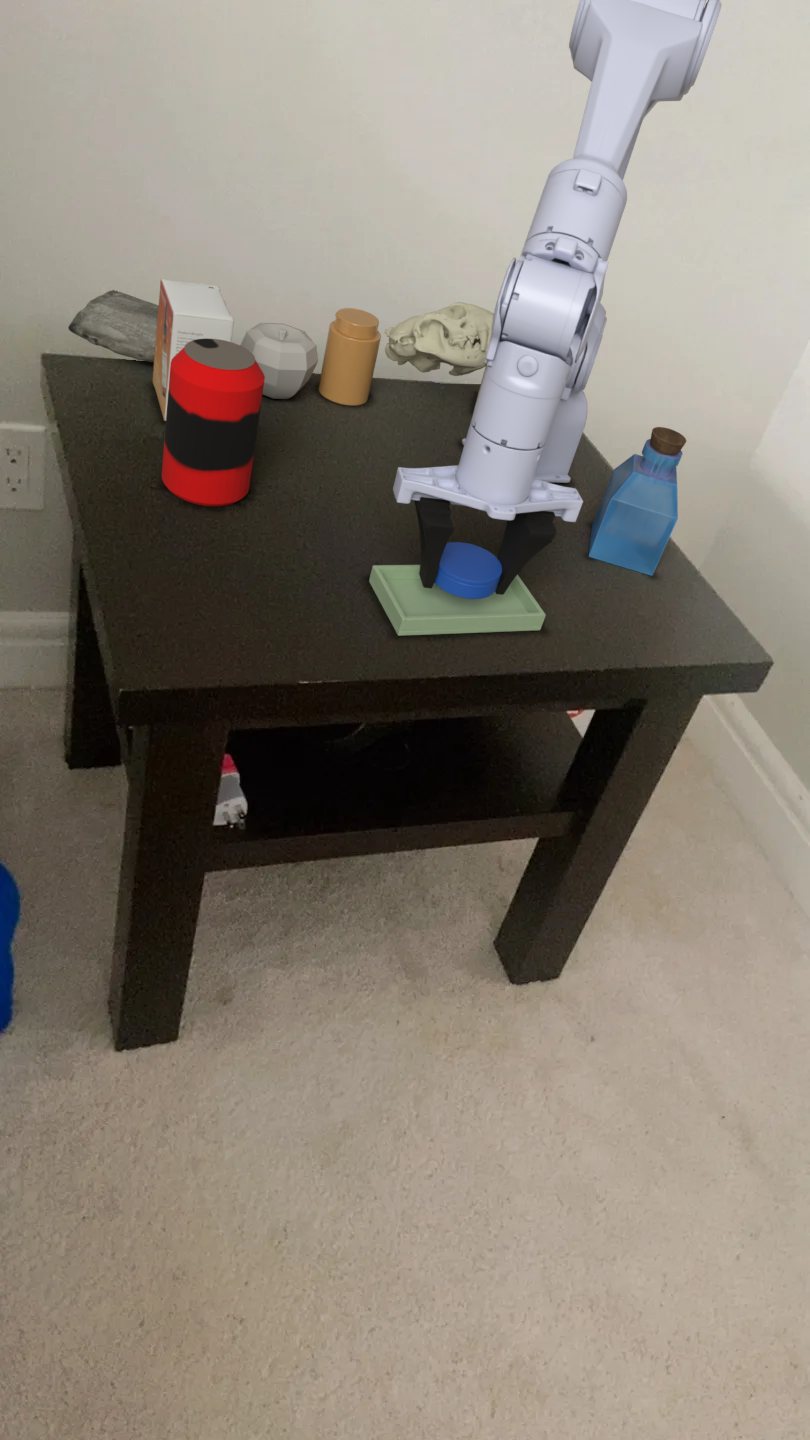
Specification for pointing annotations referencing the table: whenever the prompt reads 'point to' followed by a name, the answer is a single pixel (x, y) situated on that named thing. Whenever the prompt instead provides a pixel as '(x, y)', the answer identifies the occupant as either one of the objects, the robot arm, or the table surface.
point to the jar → (350, 357)
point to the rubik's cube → (480, 385)
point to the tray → (450, 605)
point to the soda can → (211, 422)
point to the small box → (186, 325)
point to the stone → (119, 325)
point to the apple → (282, 357)
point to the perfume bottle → (640, 505)
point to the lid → (468, 571)
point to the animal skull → (443, 339)
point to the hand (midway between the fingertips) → (461, 584)
